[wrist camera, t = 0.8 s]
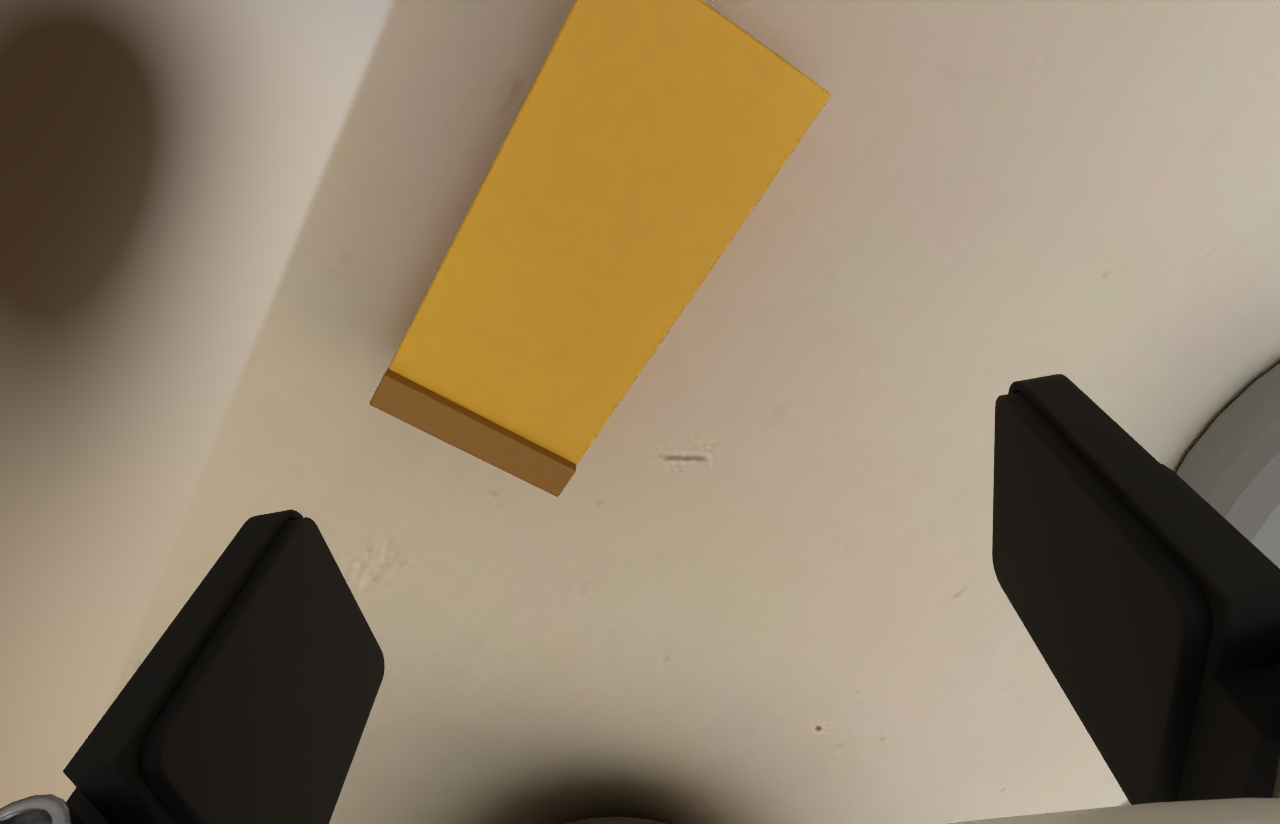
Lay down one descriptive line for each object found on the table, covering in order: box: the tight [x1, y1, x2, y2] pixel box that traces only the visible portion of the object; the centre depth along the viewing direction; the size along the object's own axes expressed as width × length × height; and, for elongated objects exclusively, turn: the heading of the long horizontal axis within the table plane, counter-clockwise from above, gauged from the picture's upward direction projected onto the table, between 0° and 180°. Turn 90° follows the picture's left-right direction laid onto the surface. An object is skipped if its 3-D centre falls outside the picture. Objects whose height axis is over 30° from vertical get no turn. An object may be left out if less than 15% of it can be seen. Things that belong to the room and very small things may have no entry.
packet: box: [370, 0, 830, 497], centre depth 22 cm, size 14×6×3 cm, turn 148°
